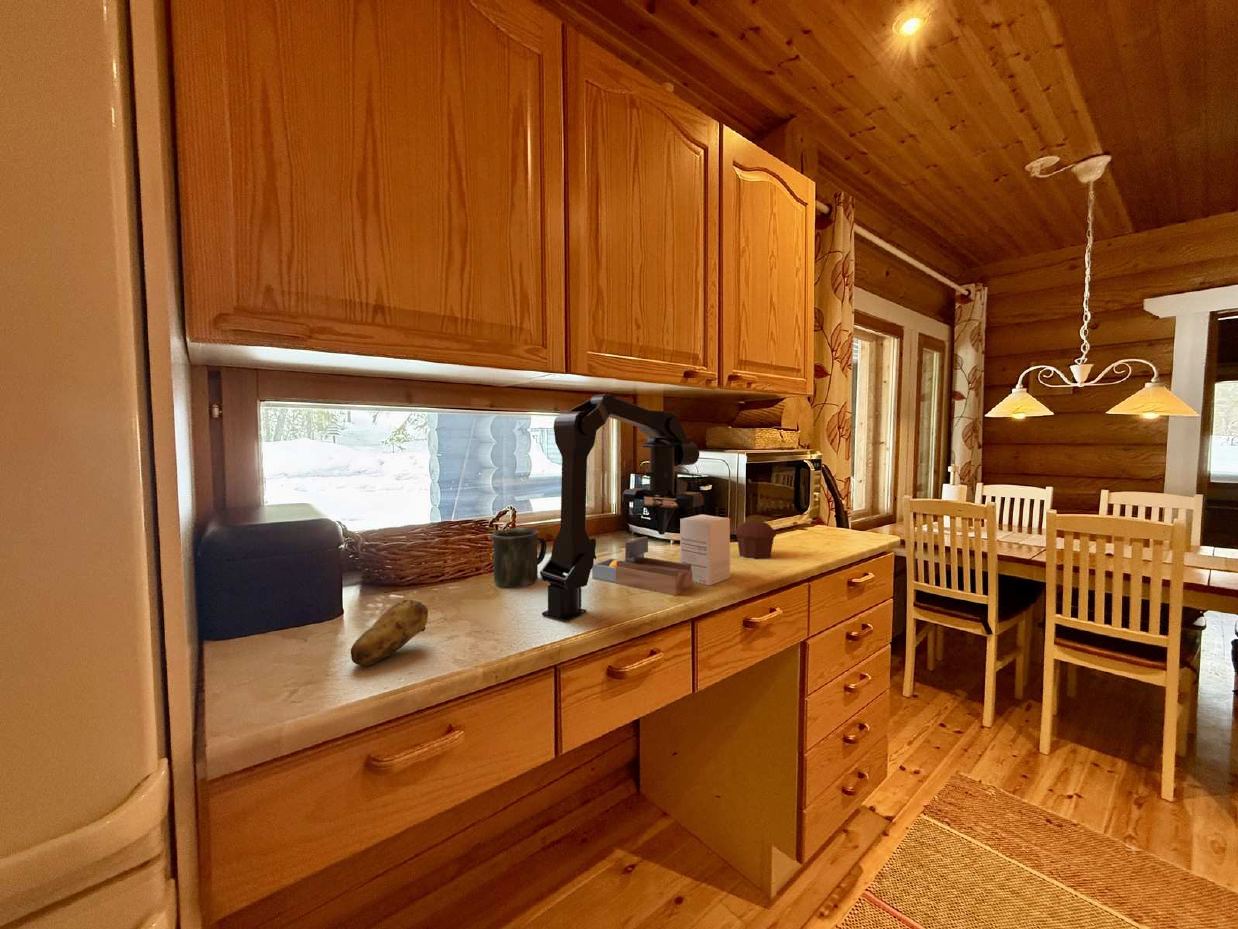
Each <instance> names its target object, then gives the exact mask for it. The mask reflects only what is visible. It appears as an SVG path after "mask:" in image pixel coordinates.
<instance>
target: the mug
mask: <svg viewBox="0 0 1238 929" xmlns="http://www.w3.org/2000/svg"><path fill="white" fill-rule="evenodd" d="M539 534H540V531H539V530H537V529H533V528H522V527H521V528H517V527H516V528H506V529H499V530H496V531H494V532H492V533H491V535H490V536H491V537H492V538H493V539H492V541H493V542H492V543H493V544H492V545H493V546H492V547H493V582H494V583H495V585H496V586H498V587H500V588H501V587H502V588H521V587H527V586H530V585H533V584H535V583H537V580H538V576H539V575H538V574H539V573H538V571H539V570H538V568H539V567H538V566H539V565H540V564H541V563H542V562H543V561H544V559H545V556H546V553H547V541H546V540H545V538H544V537H542V536H541V537H540V536H538V535H539ZM538 541H539V542H540V549H539V554H538Z"/></svg>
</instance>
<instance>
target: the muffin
mask: <svg viewBox="0 0 1238 929" xmlns="http://www.w3.org/2000/svg"><path fill="white" fill-rule="evenodd" d="M734 533H735V535H736V538H737V545H738V552H739V556H740V557H742V556H743V558H746V559H751V558H753V559H752V560H765V558H766V559H769V558H771V555H772V550H773V544H774V538H775V537H776V536H777V534H776V531H775V530H774V528H773V527H772V526H771V525H770V524H769V523H767V522H765V521H763V520H756V519H755V520H754V519H753V520H751V519H750V520H746V521H744V522H742V523H741V524H739V525H738V526H737V528H736V530H735V531H734Z"/></svg>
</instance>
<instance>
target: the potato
mask: <svg viewBox="0 0 1238 929" xmlns="http://www.w3.org/2000/svg"><path fill="white" fill-rule="evenodd" d="M428 617H429V611H428V608H427V606H426V605H425V604H423V603H422V602H420V601H417V600H415V599H403V600H400V601H397V602H395V603H394V604H392V606H391V607H389V608H388V609H387V610H386V611H385V612H383V614H382V615H380V616H379V618H378V619H377V620H376V621H375V622H374V623H373V625H371V627H370V628H369V629H366V630H365V632H363V633H362V634H361V635H360V636H359V637H358V638H357V639H356V640H355V641H354V642H353V644H352V646H351V648H350V658H351V661H352V662H353V663H354V664H355V665H358V666H361V667H365V666H366V667H368V666H371V665H374V664H375V663H377V662H379V661H380V660H382V659H384V658H387V657H388V656H392V655H393V654H395V653H396V652H397V651H399V650H400V649H401V648H403V647H404V646H405V645H406V644H407V643H408V642H409V641H410V640H412V639H413V638H414V637H415V636H416V635H418V634H420V633H421V632H425V630H426V628H427V627H426V626H427V623H428V619H429V618H428Z"/></svg>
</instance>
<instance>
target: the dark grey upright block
mask: <svg viewBox="0 0 1238 929" xmlns="http://www.w3.org/2000/svg"><path fill="white" fill-rule="evenodd" d="M624 544H625V545H624V546H625V550H624V551H625V552H624V553H625V554H624V558H625V559H624V560H625V562H631V563H636V564H643V563H644V557H645V553H648V552H649V537H648V536H641V537H638V538H634V539H632V540H628V541H625V543H624Z"/></svg>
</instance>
